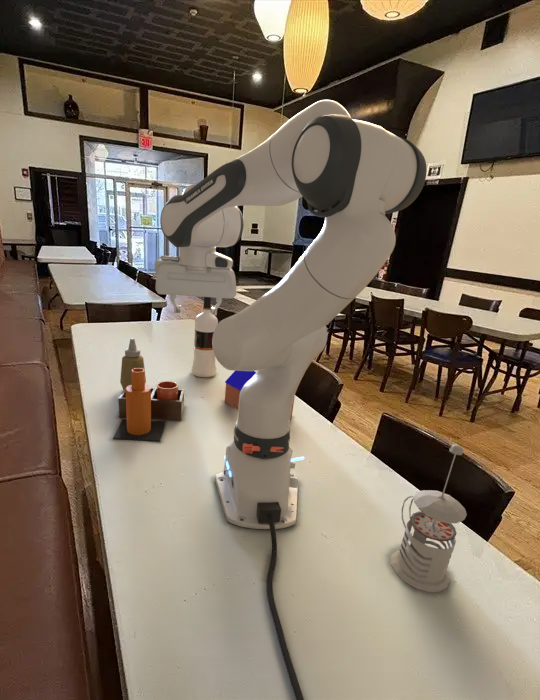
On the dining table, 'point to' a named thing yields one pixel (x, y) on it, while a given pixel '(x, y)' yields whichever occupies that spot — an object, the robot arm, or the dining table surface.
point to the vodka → (204, 342)
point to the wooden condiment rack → (158, 406)
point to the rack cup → (167, 390)
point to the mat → (150, 436)
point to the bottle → (138, 404)
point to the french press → (435, 523)
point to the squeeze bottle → (130, 363)
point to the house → (238, 387)
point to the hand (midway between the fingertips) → (195, 313)
